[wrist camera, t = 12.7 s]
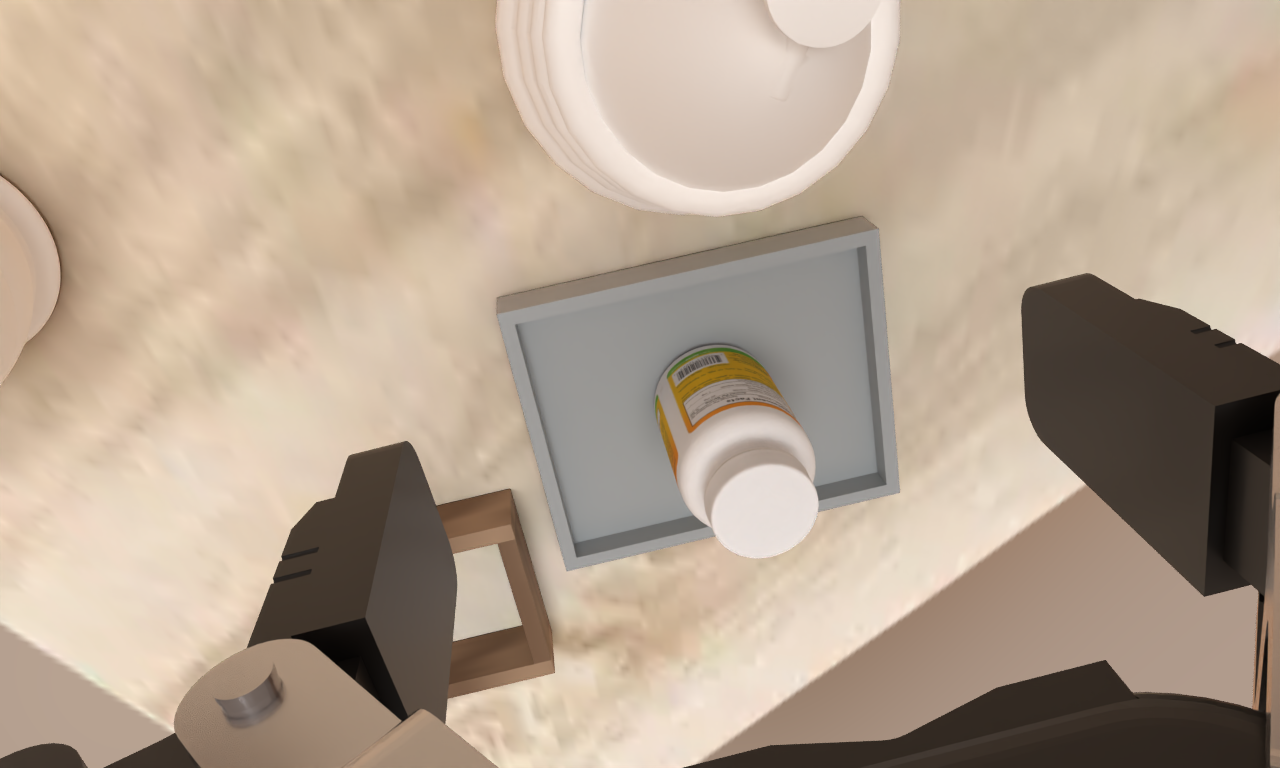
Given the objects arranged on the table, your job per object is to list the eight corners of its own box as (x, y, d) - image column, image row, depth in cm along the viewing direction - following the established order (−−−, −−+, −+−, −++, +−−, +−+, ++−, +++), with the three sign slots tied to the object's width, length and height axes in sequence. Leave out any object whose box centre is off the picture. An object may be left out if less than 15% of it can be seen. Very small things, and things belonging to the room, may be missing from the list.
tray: (862, 215, 41) (878, 228, 39) (884, 471, 47) (899, 492, 45) (496, 297, 41) (496, 314, 39) (564, 546, 46) (566, 571, 44)
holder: (510, 488, 45) (510, 524, 42) (551, 632, 48) (554, 672, 46) (327, 531, 44) (315, 569, 41) (383, 672, 48) (376, 715, 45)
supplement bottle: (736, 465, 45) (793, 593, 36) (632, 426, 43) (665, 550, 34) (792, 366, 43) (866, 476, 34) (685, 323, 41) (735, 425, 33)
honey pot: (541, -229, 33) (581, -392, 17) (875, -110, 36) (1184, -152, 20) (463, 139, 38) (436, 287, 22) (765, 217, 41) (941, 399, 25)
